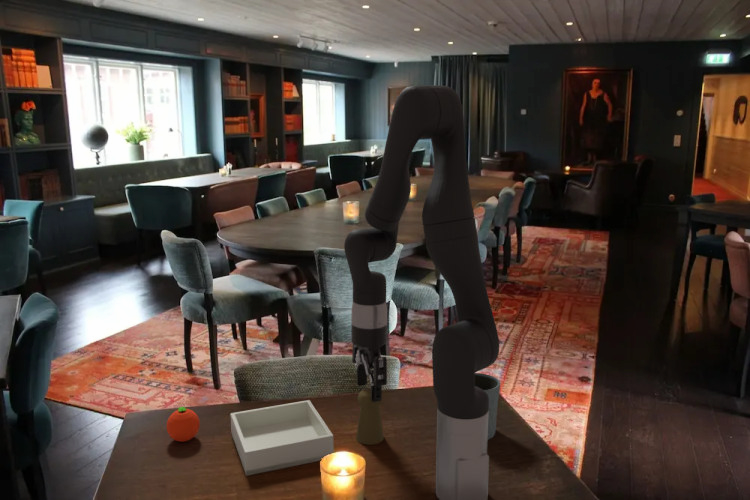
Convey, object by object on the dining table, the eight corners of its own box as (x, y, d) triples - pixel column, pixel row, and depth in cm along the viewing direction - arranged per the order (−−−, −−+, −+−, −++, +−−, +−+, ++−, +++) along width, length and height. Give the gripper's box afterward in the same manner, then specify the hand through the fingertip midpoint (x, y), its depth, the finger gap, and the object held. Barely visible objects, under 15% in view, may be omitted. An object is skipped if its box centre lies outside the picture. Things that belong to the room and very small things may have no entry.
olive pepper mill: (380, 446, 134) (380, 398, 132) (353, 443, 136) (352, 395, 133) (386, 432, 140) (386, 386, 138) (359, 429, 141) (359, 384, 139)
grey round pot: (465, 445, 134) (466, 393, 132) (445, 424, 144) (446, 375, 141) (507, 438, 137) (509, 386, 135) (485, 417, 147) (486, 369, 144)
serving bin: (333, 457, 130) (333, 435, 129) (246, 475, 123) (245, 452, 122) (309, 419, 146) (309, 400, 145) (231, 434, 140) (230, 413, 139)
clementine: (165, 433, 140) (163, 403, 139) (197, 427, 143) (195, 398, 141) (169, 450, 133) (167, 419, 131) (202, 443, 136) (201, 413, 134)
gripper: (399, 330, 127) (397, 403, 131) (373, 309, 140) (372, 377, 144) (364, 334, 125) (364, 409, 128) (341, 313, 137) (341, 382, 141)
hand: (368, 392), depth 136 cm, fingers open, 8 cm apart
